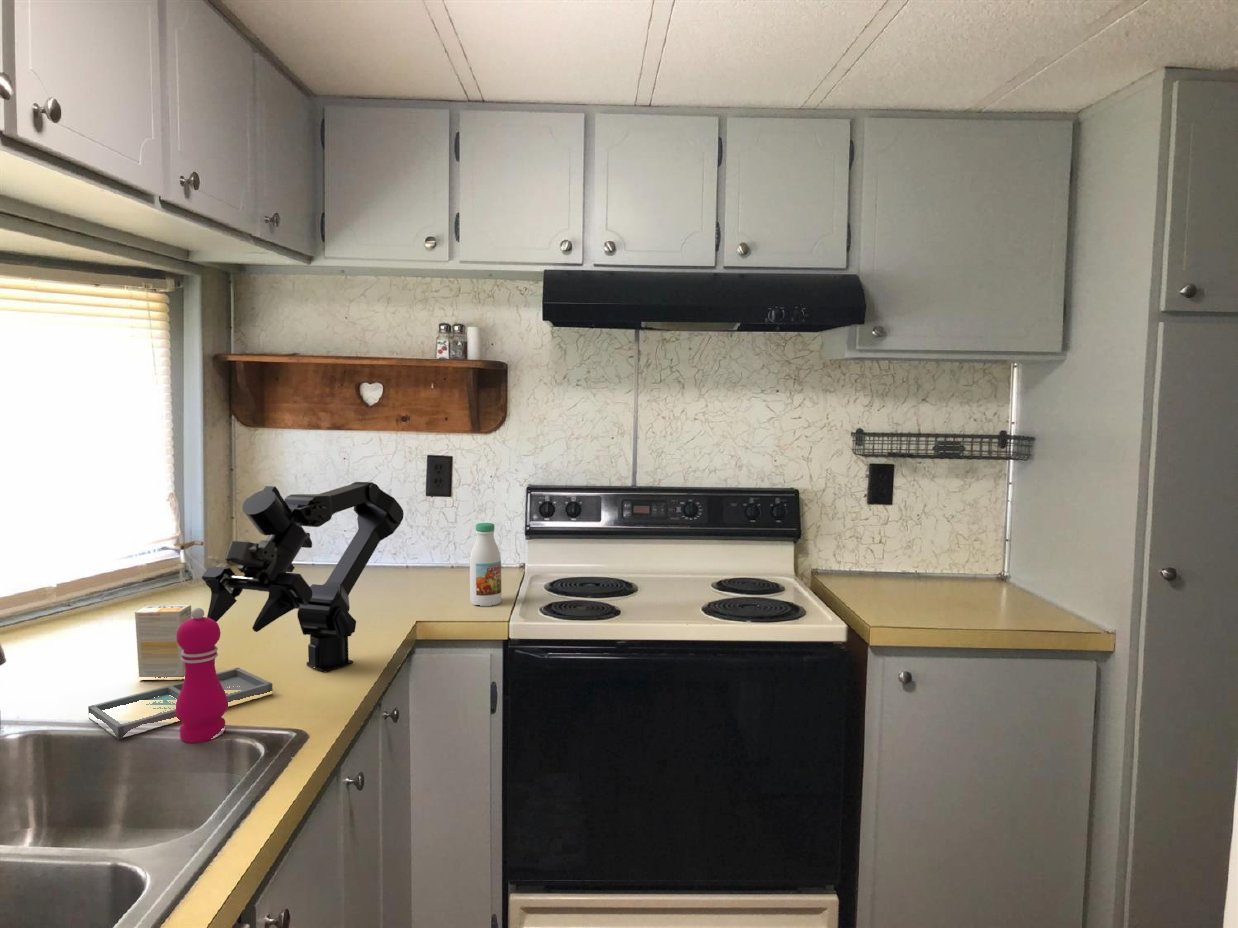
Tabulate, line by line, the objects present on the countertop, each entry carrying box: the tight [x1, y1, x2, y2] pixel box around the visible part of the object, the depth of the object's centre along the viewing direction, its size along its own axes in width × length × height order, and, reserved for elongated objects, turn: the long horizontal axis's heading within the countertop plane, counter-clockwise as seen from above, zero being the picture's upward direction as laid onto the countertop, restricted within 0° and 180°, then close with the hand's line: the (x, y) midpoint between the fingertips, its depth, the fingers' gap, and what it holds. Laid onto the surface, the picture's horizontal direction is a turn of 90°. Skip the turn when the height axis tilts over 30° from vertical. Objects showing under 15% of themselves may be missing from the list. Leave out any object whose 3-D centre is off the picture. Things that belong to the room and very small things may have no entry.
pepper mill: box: [175, 607, 229, 744], centre depth 126 cm, size 7×7×20 cm
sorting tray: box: [87, 667, 274, 741], centre depth 138 cm, size 24×13×2 cm, turn 140°
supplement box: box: [134, 604, 192, 678], centre depth 152 cm, size 8×5×13 cm, turn 92°
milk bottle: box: [469, 522, 502, 607], centre depth 204 cm, size 8×8×20 cm
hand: (230, 627), depth 134 cm, fingers open, 9 cm apart
